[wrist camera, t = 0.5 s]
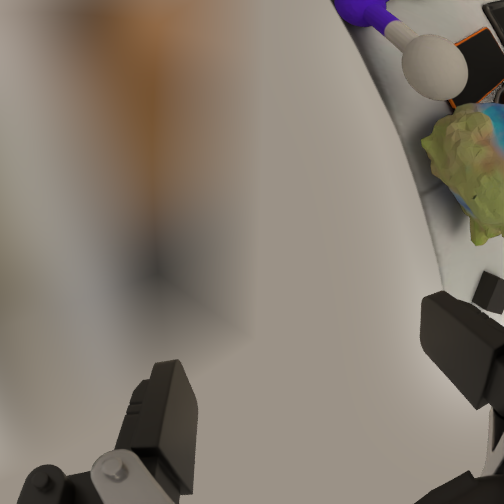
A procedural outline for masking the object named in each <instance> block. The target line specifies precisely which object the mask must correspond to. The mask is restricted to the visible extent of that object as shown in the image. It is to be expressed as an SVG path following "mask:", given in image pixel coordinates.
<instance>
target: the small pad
mask: <svg viewBox="0 0 504 504" xmlns="http://www.w3.org/2000/svg"><path fill="white" fill-rule="evenodd" d="M472 302H474V303H475V304H477V305H478V306H480V307H481V308H483V309H485V310H486V311H490V312H494V313H497V314H501V315H502V313H503V310H504V280H503V279H501V278H499V277H497V276H495V275H492V274H490V273H488V272H485V271H484V272H483V275H482V278H481V280H480V283H479V285H478V288H477V290H476V293H475V295H474V298H473V300H472Z"/></svg>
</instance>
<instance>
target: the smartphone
mask: <svg viewBox="0 0 504 504" xmlns="http://www.w3.org/2000/svg"><path fill="white" fill-rule="evenodd" d="M454 45H455V46H456V47H457V48H458V49H459V50H460V52H461V53H462V54H463V56H464V59H465V61H466V63H467V68H468V79H467V83H466V85H465V87H464V89H463V90H462V92H461V93H460V94H458V95H457V96H456V97H454V98H452V99H449V102H450V104H451V106H452V108H453V109H454V111H455V109H456V107H457V106H461V105H463V104H468V103H479V102H480V101H481V100H482V99H483V98H485V97H486V96H487V95H488V94H489V93H490V92H491V91H492V90H494V89H495V88H496V87H497V86H498V85H499V84H500V83H501V82H503V81H504V54H503V52H502V50H501V48H500V47H499V45H498V43H497V41H496V40H495V38H494V36H493V35H492V33H491V31H490V30H489V29H488V28H487V27H485V28H483V29H481V30H479V31H478V32H476V33H474V34H473V35H471V36H469V37H467V38H466V39H464V40H462V41H461V42H459V43H455V44H454Z"/></svg>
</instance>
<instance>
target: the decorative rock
mask: <svg viewBox="0 0 504 504" xmlns="http://www.w3.org/2000/svg"><path fill="white" fill-rule="evenodd" d="M421 145H422V147H423V148H424V149H425V150H426V153H427V155H428V158H429V159H430V160H431V165H430V166H431V171H432V174H433V175H435V176H436V177H438V178H440V179H441V180H442V181H443V182H444V183H445V184H446V185H447V186H448V187H449V190H450V191H451V192H452V193H453V194H454V196H455V198H456V199H457V201H458V202H459V203H460V204H461V206H460V207H461V209H462V210H463V212H464V214H466V215H467V216H469V217H470V232H471V241H472V242H473V243H474V244H475V246H479V245H483V244H485V243H486V242H487V240H488V239H489V238H492V237H495V236H498V235H500V234H502V237H504V104H498V103H468V104H463V105H461V106H457V107H456V109H455V111H454V114H453V115H447V116H446V117H444V118H442V119H439V120H438V121H437V122H436V124H435V126H434V128H433V131H432V134H431V135H430V136H428V137H425V138H423V139H421Z"/></svg>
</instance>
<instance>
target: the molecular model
mask: <svg viewBox="0 0 504 504" xmlns="http://www.w3.org/2000/svg"><path fill="white" fill-rule="evenodd" d="M387 1H389V0H334V3H335V8H336V10H337V12H338V14H339V15H340V16H341V17H342V18H343V19H344V20H345V21H347V22H348V23H350V24H352V25H355V26H360V27H369V26H373V27H374V28H375V29H376V30H378V31H379V32H380V33H381V34H382V35H383V36H385V37H386V38H387V39H388V40H389V41H390V42H391V43H393V44H394V45H395V46H396V47H397V48H398V49H399V50H400V51H401V52H402V53H403V56H402V68H403V72H404V75H405V77H406V79H407V81H408V82H409V84H410V85H411V86H412V87H413V88H414V89H415V90H416V91H417V92H418V93H420V94H421V95H422V96H424V97H427V98H429V99H432V100H437V101H442V100H449V99H452V98H454V97H456V96H457V95H458V94H460V93H461V92H462V90H463V89H464V87H465V85H466V83H467V79H468V68H467V63H466V61H465V59H464V56H463V54H462V53H461V52H460V50H459V49H458V48H457V47H456V46H455V45H454V44H453V43H451V42H450V41H449V40H447V39H445V38H443V37H440V36H436V35H422V36H419V35H417V34H416V33H415V32H414V31H413V30H411V29H410V28H409V27H408V26H406V25H405V24H404V23H403V22H401V21H400V20H399V19H397V18H396V17H395V16H394V15H392V14H391V13H389V12H388V11H387V10H386V2H387Z"/></svg>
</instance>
